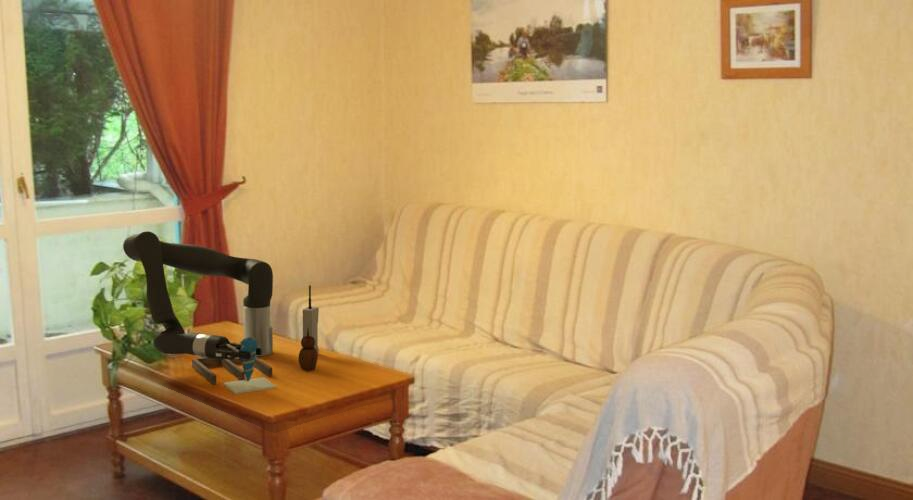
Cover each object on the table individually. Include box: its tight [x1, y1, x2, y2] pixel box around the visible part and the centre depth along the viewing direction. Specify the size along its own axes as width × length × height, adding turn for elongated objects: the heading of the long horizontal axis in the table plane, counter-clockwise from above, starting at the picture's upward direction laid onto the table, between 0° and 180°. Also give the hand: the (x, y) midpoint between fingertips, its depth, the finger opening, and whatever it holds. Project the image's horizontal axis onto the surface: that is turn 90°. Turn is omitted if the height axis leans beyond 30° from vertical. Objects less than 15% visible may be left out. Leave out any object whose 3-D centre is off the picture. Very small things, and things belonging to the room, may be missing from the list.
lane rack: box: [191, 356, 273, 386], centre depth 323 cm, size 20×23×3 cm
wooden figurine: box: [298, 328, 319, 372], centre depth 327 cm, size 7×6×15 cm
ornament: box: [240, 334, 257, 381], centre depth 307 cm, size 5×5×15 cm
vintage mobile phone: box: [302, 284, 320, 354], centre depth 345 cm, size 4×5×25 cm
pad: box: [223, 377, 277, 395], centre depth 308 cm, size 13×11×1 cm
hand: (255, 353), depth 305 cm, fingers closed on ornament, 5 cm apart
